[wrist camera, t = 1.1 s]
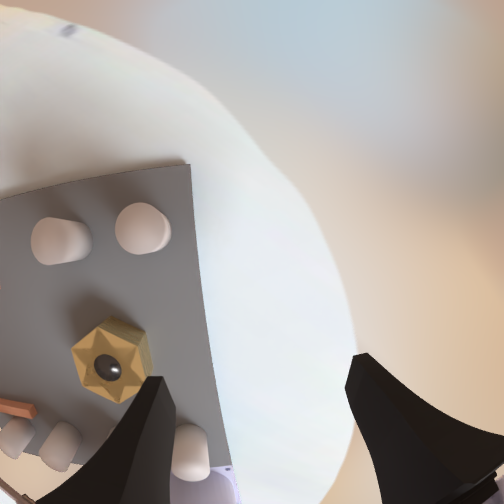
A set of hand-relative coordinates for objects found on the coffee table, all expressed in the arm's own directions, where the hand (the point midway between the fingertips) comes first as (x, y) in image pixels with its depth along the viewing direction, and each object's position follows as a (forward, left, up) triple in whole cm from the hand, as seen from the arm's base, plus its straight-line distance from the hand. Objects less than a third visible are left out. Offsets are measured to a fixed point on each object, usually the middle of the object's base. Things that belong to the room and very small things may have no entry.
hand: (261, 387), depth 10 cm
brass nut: (-2, +9, -10) cm, 14 cm away
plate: (-2, +15, -11) cm, 19 cm away
